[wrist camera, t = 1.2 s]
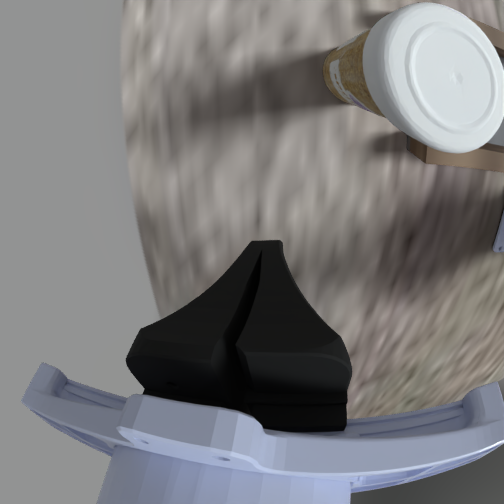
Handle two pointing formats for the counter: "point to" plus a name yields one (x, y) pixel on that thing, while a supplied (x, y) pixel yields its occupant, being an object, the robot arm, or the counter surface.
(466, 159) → the cradle
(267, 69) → the counter surface
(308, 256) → the counter surface
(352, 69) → the sprinkles bottle
